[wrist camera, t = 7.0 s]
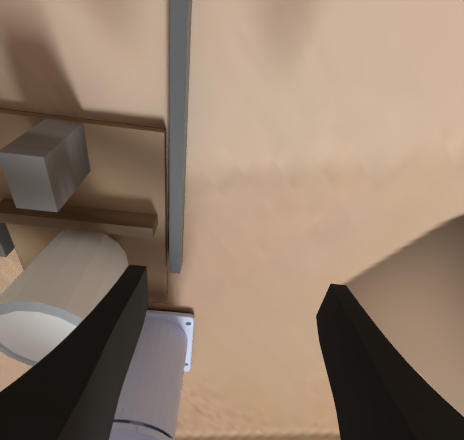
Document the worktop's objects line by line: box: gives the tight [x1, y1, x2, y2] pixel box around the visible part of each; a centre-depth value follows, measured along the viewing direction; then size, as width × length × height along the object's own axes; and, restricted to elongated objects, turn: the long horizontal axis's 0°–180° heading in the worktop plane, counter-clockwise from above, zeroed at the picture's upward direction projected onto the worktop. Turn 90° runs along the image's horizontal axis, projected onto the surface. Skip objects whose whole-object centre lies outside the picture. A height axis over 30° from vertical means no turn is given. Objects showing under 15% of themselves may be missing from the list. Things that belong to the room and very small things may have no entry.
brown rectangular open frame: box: [0, 109, 167, 303], centre depth 20 cm, size 15×11×5 cm
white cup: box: [0, 230, 128, 366], centre depth 21 cm, size 7×7×7 cm
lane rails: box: [0, 0, 192, 274], centre depth 18 cm, size 18×13×1 cm
